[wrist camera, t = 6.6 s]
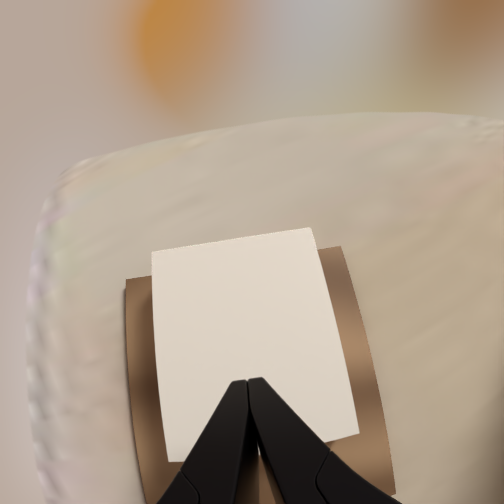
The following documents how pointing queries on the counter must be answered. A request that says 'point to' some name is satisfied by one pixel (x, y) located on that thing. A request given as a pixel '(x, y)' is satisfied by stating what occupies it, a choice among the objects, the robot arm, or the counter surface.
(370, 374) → the board
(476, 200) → the counter surface
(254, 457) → the robot arm
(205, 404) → the white box
